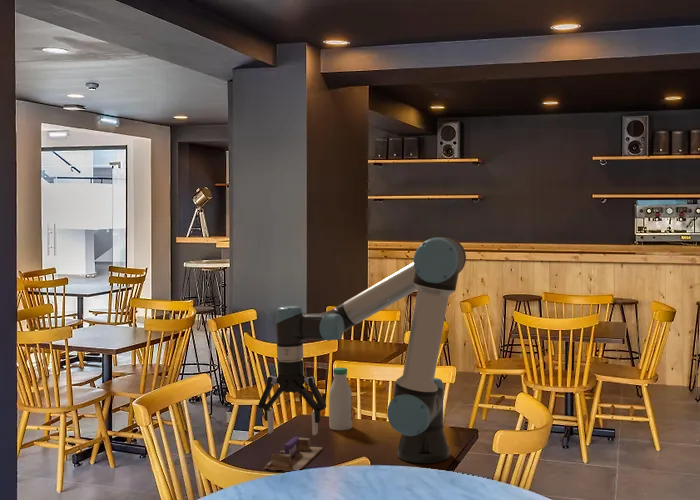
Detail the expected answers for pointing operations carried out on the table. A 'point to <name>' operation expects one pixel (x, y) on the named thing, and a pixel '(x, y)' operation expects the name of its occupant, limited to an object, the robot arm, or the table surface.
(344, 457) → the table surface
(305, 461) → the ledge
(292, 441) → the snack package
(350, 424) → the milk bottle
